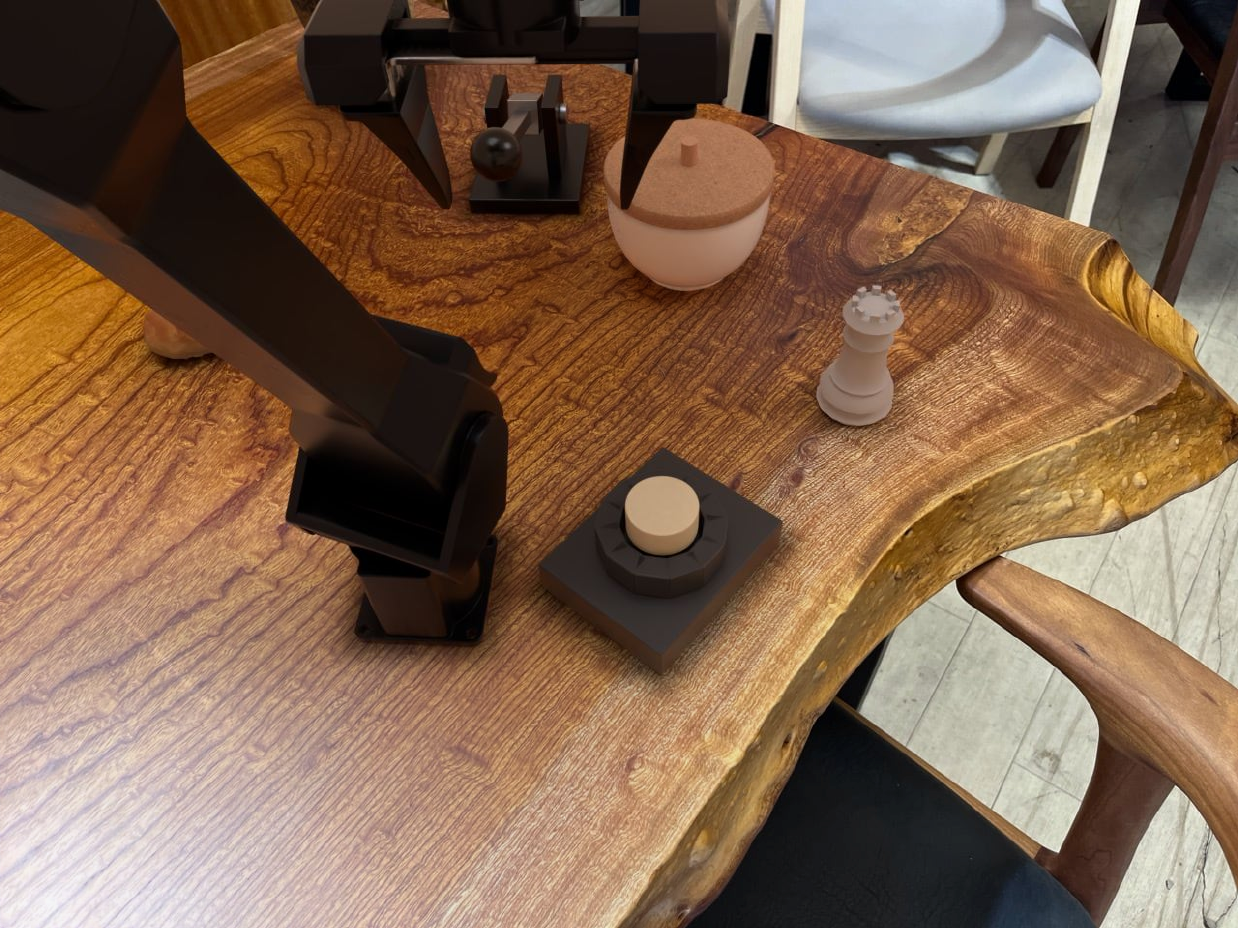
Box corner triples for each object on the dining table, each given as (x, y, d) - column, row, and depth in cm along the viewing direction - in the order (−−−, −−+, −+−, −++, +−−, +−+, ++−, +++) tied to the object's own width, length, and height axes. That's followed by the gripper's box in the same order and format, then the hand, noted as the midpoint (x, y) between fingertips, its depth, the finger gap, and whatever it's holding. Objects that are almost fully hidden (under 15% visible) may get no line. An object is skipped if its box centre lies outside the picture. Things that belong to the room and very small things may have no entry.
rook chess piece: (801, 388, 58) (818, 286, 52) (866, 367, 59) (890, 265, 53) (839, 440, 56) (861, 339, 49) (905, 417, 57) (936, 315, 50)
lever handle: (519, 188, 59) (516, 134, 57) (467, 187, 59) (462, 133, 57) (551, 132, 71) (549, 86, 70) (508, 132, 71) (505, 86, 70)
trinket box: (648, 334, 62) (647, 213, 54) (584, 240, 68) (575, 120, 61) (794, 285, 64) (811, 163, 57) (718, 199, 70) (725, 78, 63)
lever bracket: (579, 214, 70) (573, 130, 65) (470, 213, 70) (455, 130, 65) (590, 136, 76) (585, 54, 71) (490, 136, 77) (478, 54, 71)
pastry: (175, 386, 60) (149, 342, 57) (135, 331, 64) (109, 286, 61) (309, 319, 64) (292, 274, 61) (265, 270, 67) (246, 225, 64)
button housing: (661, 677, 47) (661, 637, 44) (541, 587, 50) (533, 544, 47) (779, 544, 51) (786, 499, 48) (662, 470, 55) (662, 424, 52)
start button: (667, 568, 46) (667, 548, 45) (610, 530, 48) (609, 509, 46) (712, 521, 48) (714, 500, 46) (656, 485, 49) (656, 464, 48)
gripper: (730, -204, 42) (713, 120, 54) (314, -196, 43) (387, 121, 55) (741, -105, 35) (719, 242, 47) (242, -98, 36) (344, 241, 48)
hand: (536, 205), depth 50 cm, fingers open, 9 cm apart
